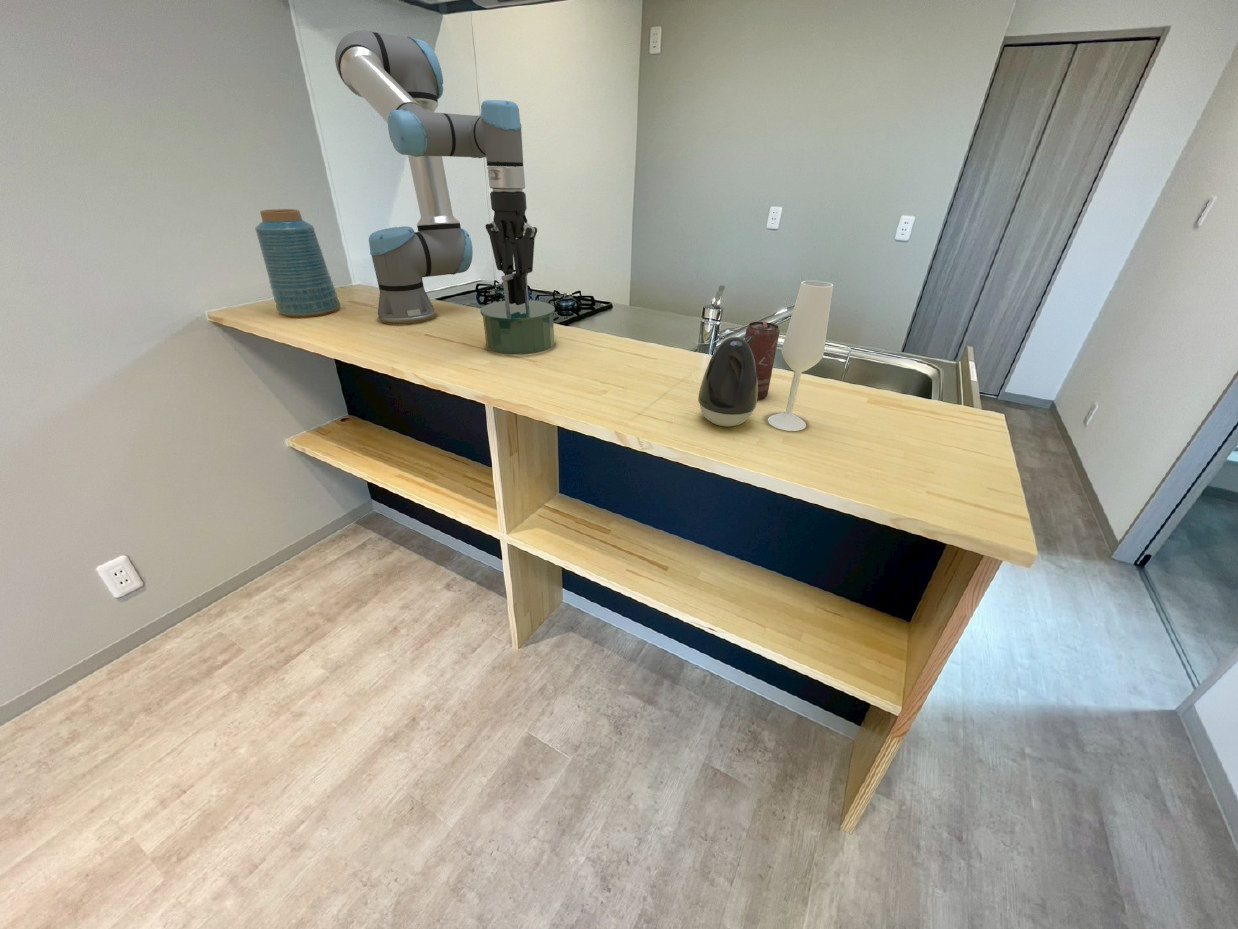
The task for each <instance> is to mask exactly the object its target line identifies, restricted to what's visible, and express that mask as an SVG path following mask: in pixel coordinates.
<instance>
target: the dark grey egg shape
mask: <svg viewBox="0 0 1238 929" xmlns="http://www.w3.org/2000/svg"><path fill="white" fill-rule="evenodd" d="M752 341H753V337H752V336H749V337H747V338H746V339H745V338H742V337H739V336H731V337H728V338H725V339H723V340H722V341H721V342H720V344H718V346H717V347H716V349H715V350H714V352H713V354H712V356H711V358H710V360H709V361H708V364H707V367H706V369H705V371H704V373H703V376H702V379H701V383H700V387H699V390H698V395H697V396H698V397H697V402H698V403H699V407H700V408H699V409H700V412H701V413H702V415H703V417H704V418H705V419H706V420H707V421H708V422H710V423H712V424H713V425H716V426H720V427H729V428H730V427H736V426H739V425H741V424H744V422H745V423H746V421H747V420H749V418H750V417H751V416H752V414H753V413H754V412H753V411H754V410H755V409H756V407H757V404H758V400H757V397H758V381H757V370H756V364H755V359H754V355H753V352H752V349H751V347H750V344H751V343H752Z"/></svg>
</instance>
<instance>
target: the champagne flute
mask: <svg viewBox="0 0 1238 929" xmlns="http://www.w3.org/2000/svg"><path fill="white" fill-rule="evenodd" d="M833 291H834V284H833V283H832V282H828V281H821V280H803V281H801V283H800V286H799V289H798V293H797V296H796V299H795V303H794V306H793V309H792V313H791V317H790V319H789V323H788V327H787V329H786V333H785V336H784V339H783V343H782V346H781V350H780V353H781V356H782V358H783V360H784V362H785V363H786V364H787V366H788V367H789V369H791V371H793V376H792V379H791V380H792V381H791V385H790V390H789V394H788V398H787V403H786V407H785V411H784V412H781V413H780V412H779V413H777V414H772V415H770V416H769V417H768V418H767V423H769V425H770V426H772V427H774V428H775V429H779V430H781V431H787V432H788V431H789V432H799V431H802V430H804V429H805V428H806V427H807V424H806V422H805V421H804V419H802V418H800V417H799V416H798V415H796V414H794V413H793V411H794V407H795V403H796V398H797V394H798V389H799V385H800V380H801V376H802V373H804V372H806V371H808V370H809V369H811V368H813V367H815V366H816V365H817V364H818V363H819V362H820V361H821V360H822V359H823V357H824V355H825V354H824V353H825V347H826V340H827V332H828V326H829V320H830V319H829V318H830V313H831V306H832V299H833V298H832V297H833Z"/></svg>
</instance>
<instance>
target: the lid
mask: <svg viewBox="0 0 1238 929" xmlns="http://www.w3.org/2000/svg"><path fill="white" fill-rule="evenodd" d="M514 273H515V272H513V274H508V275H505V274H503V275H502V276H501V281H502V284H503V294H504V300H502V301H501V300H500V301H495V302H491V303H488V304H486V305H483V306H481V307H480V310H479V312H480V315H481V316H482V317H483V316H484V317H486V318H489V319H494V320H501V321H528V320H536V319H541V318H545V317H548V316H550V315H552V314H553V315H554V313H555V311H556V308H555V306H554V305H553V304H551V303H549V302H545V301H539V300H533V299H532V300H531V299H529V297H530V296H529V286H528V276H529V273H527V274H526V289H525V301H526V303H524V304H521V305H516V303H514V304H509V294H508V284H507V281H508V280H512V279H513V276H514Z"/></svg>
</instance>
